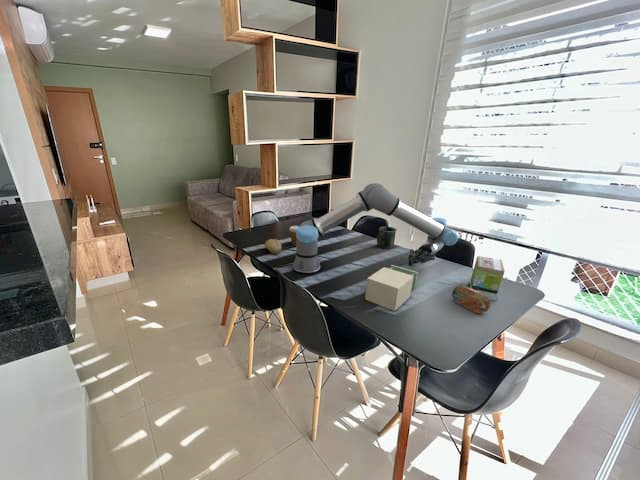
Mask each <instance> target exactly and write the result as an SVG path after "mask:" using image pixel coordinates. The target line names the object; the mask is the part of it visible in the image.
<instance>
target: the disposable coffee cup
mask: <svg viewBox="0 0 640 480" xmlns="http://www.w3.org/2000/svg"><path fill="white" fill-rule="evenodd" d="M299 226H300V225H292V226H290V227H289V229H288V230H289V234H290V235H289V236H290V241H291V245H292V246H295V247H296V231H297V229H298V228H299Z"/></svg>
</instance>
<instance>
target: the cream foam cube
mask: <svg viewBox="0 0 640 480" xmlns="http://www.w3.org/2000/svg"><path fill="white" fill-rule="evenodd" d="M389 268H390V267H385V266H384V267H382V268H380V269H379V270H378V271H376V272H374V273H372V274H371V275H370V276H368V277H367V279H366V285H365V286H366V288H365V289H366V290H365V295H364V300H366V301H368V302H370V303H373V304H375V305H378V306H381V307H384V308H386V309H388V310H391V311H393V312H396V311H397V310H398V309H399V308H400V307H401V306H402V305H403V304H404V303H405V302H406V301H407V300H409V299H410V298H411V293H412V289H411V288H412V282H413V276H412V275H409V274H406V273H402V272H399V271H395V270H392V269H389Z"/></svg>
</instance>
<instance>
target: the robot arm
mask: <svg viewBox="0 0 640 480" xmlns="http://www.w3.org/2000/svg"><path fill="white" fill-rule="evenodd" d="M371 210H375V211H377V212H380V213H382V214H384V215H386V216H388V217H391V216H393V217H394V218H395V219H398V220H400V221H402V222H404V223H405V224H408V225H409V226H411V227H413V228H414V229H417V230H418V231H421V232H422V233H424V234H426V235H427V240H426V242H425V243H423V244H422V245H421V246H419V247H418V249H415V250H414V249H413V248H410V249H409V254H408V259H407V260H408V263H407V267H412V266H413V265H416V264H418V263H421V264H424V263H427V262H429V261H435V260H436V254H437V253H438V252H440V251H441V250H442V249H443V247H444V245H445V246H448V247H450V246H454V245H455V244H456V243H457V242H458V241H459V235H458V234H457V232H456V231H455V230H453V229H451V228H450V227H448V226H447V219H446V218H442V217H433V218H431V217H429V216H427V215H426V214H423V213H422V212H420V211H418V210H416V209H414V208H413V207H411V206H409V205H407V204H405V203H403V202H401V199H400V198H399V197H397V196H395V195H394V194H393V193H392V192H390V191H389V190H388V189H387V188H386V187H384V185H383V184H380V183H376V182H374V183H373V182H372V183H369V184H367V185H366V186H365V187H364V188H363V189H362V190H360V191H359V192H357V193H356V196H355V197H353V198H352V199H350V200H349V201H346V202H345V203H343V204H342V205H340V206H337V207H336V208H335V209H333V210H331V211H329V212H327V213H325V214H324V215H322V216H320V217H319V218H315V217H314V218H311V219H310V220H305V221H303V222H302V223H300V225H298V226H299V228H298V229H297V231H296V246H295V249H296V250H295V258H294V261H293V263H288V264H283V265H278V266H277V267H278V268H284V267H291V266H292V270H293V271H294V272H296V273H298V274H302V275H303V274H304V275H312V274H316V273H319V272H320V270H321V263H320V258H319V257H318V250H319V249H318V248H319V246H318V245H319V239H320V238H322V237H324V236H325V233H326V232H328V231H329V230H331V229H333V228H335V227H337V226H339V225H340V224H341V223H344V222H346V221H348V220H349V219H352V218H353V217H355V216H357V215H358V214H361V213H363V212H370V211H371Z"/></svg>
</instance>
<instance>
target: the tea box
mask: <svg viewBox="0 0 640 480" xmlns="http://www.w3.org/2000/svg"><path fill="white" fill-rule="evenodd" d="M504 275H505V267H504V263H503V260H502V259H499V258H493V257H488V256H480V255H477V256H476V259H475V263H474V266H473V271H472V273H471V278H470V282H469V288H471V289H474V290H476V291H478V292H481V293H483V294H485V295H486V296H487V297H488V298H489V300H490V301H496V299H497V296H498V293H499V290H500V288H501V284H502V281H503V278H504Z"/></svg>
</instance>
